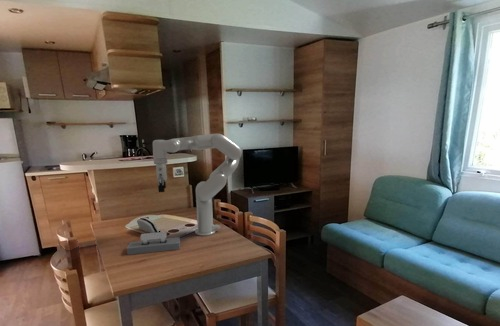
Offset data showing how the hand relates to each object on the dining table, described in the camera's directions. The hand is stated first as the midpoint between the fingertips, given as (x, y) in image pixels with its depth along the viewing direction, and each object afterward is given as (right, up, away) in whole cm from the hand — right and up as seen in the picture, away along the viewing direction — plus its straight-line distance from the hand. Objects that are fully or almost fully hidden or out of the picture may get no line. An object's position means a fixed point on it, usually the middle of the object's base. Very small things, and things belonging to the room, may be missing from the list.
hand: (162, 190), depth 162 cm
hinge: (-13, -28, +12) cm, 33 cm away
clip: (0, -30, -13) cm, 33 cm away
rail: (0, -30, -13) cm, 33 cm away
